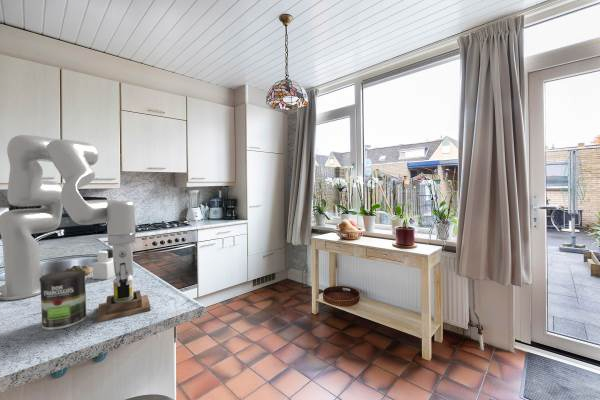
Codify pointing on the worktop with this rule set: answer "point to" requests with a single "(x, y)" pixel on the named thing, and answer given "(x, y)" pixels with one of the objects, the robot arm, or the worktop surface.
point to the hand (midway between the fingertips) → (123, 293)
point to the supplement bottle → (130, 282)
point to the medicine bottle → (104, 265)
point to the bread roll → (85, 268)
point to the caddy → (123, 307)
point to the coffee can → (63, 299)
